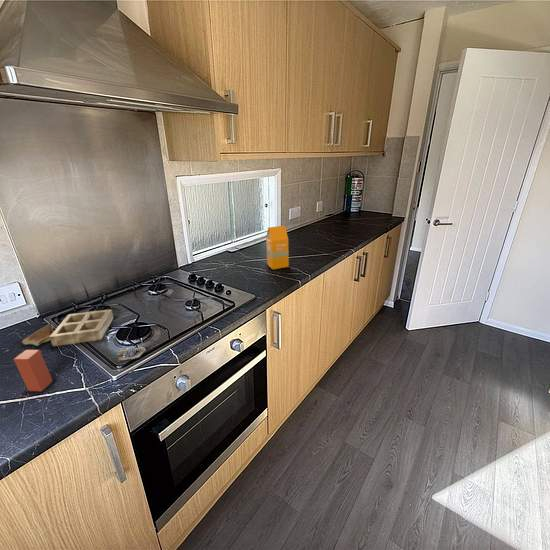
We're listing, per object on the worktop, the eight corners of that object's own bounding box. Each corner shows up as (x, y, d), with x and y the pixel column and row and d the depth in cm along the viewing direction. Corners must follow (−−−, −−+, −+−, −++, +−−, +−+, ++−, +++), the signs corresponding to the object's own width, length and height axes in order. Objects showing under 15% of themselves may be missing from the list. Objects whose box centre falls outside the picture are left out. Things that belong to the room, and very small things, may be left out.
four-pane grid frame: (52, 346, 90) (49, 337, 89) (71, 322, 103) (68, 314, 101) (101, 339, 93) (98, 330, 91) (113, 317, 105) (111, 309, 104)
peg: (28, 391, 73) (13, 359, 69) (39, 380, 77) (26, 349, 73) (41, 391, 73) (27, 359, 69) (52, 381, 76) (39, 349, 72)
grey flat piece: (113, 354, 86) (112, 348, 85) (142, 343, 90) (140, 338, 90) (119, 366, 81) (118, 360, 80) (149, 353, 86) (147, 348, 85)
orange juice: (288, 266, 146) (288, 227, 138) (272, 269, 143) (271, 229, 135) (282, 261, 152) (282, 223, 144) (266, 264, 149) (265, 225, 142)
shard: (52, 325, 101) (50, 321, 101) (71, 327, 100) (69, 322, 99) (22, 344, 92) (20, 339, 91) (42, 346, 90) (40, 341, 89)
